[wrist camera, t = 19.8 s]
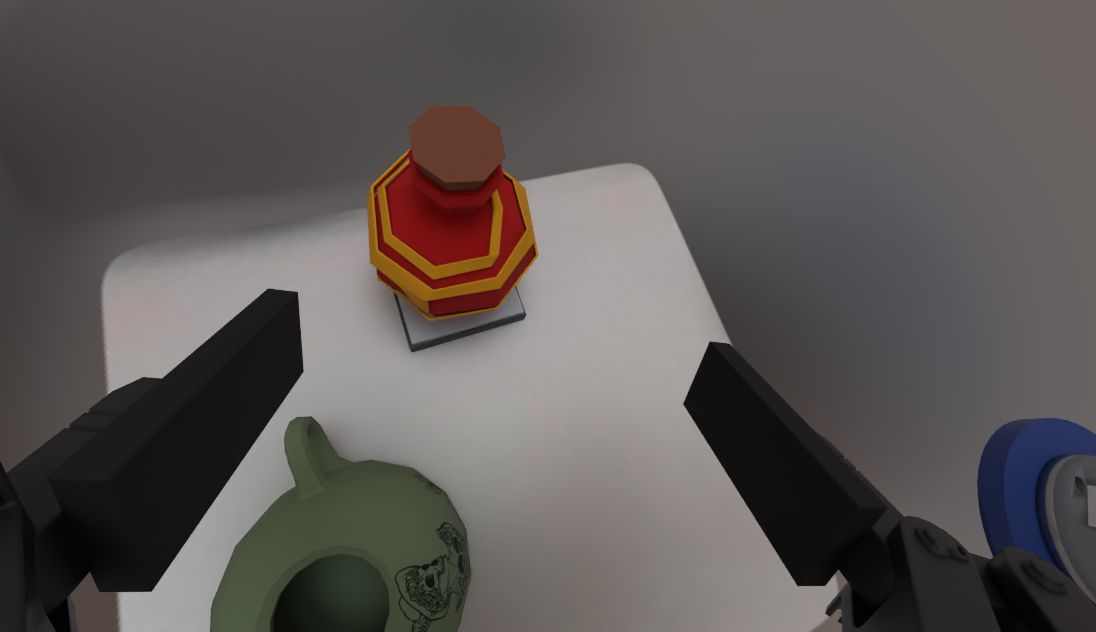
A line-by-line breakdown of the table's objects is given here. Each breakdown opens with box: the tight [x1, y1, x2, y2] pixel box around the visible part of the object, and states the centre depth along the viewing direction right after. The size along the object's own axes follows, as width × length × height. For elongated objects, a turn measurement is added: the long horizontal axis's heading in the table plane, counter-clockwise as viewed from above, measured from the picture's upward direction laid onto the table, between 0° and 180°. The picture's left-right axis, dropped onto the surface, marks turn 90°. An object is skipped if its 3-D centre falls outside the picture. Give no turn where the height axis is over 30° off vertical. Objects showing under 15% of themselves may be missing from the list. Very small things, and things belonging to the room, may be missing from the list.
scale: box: [392, 286, 526, 352], centre depth 32 cm, size 9×9×2 cm
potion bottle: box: [367, 106, 538, 321], centre depth 25 cm, size 10×10×15 cm
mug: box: [210, 416, 471, 632], centre depth 23 cm, size 16×13×9 cm
